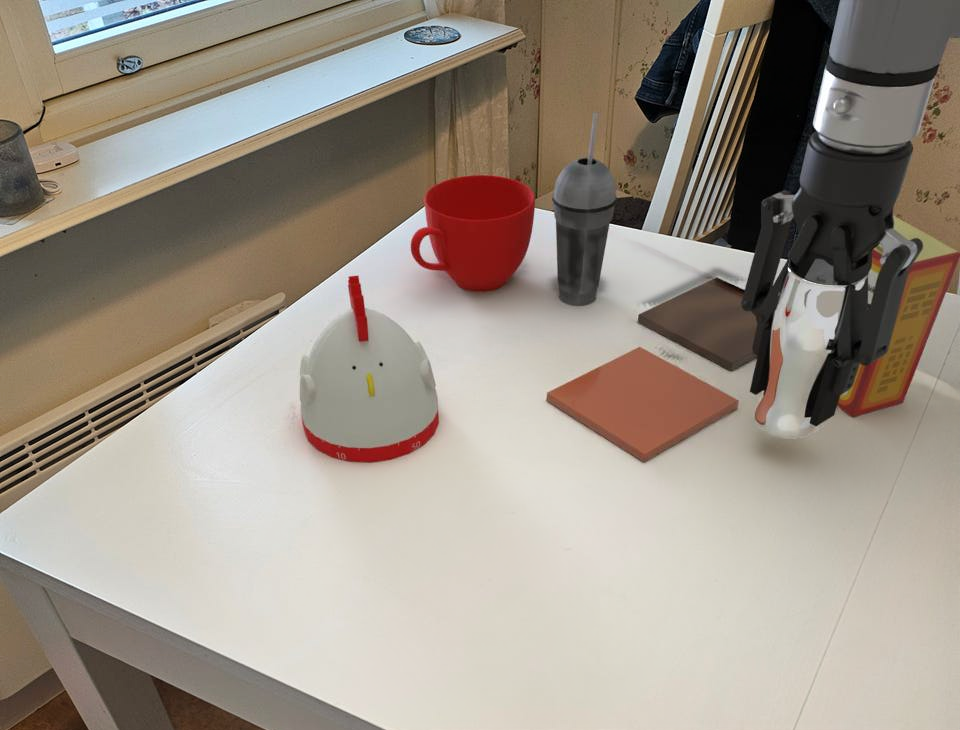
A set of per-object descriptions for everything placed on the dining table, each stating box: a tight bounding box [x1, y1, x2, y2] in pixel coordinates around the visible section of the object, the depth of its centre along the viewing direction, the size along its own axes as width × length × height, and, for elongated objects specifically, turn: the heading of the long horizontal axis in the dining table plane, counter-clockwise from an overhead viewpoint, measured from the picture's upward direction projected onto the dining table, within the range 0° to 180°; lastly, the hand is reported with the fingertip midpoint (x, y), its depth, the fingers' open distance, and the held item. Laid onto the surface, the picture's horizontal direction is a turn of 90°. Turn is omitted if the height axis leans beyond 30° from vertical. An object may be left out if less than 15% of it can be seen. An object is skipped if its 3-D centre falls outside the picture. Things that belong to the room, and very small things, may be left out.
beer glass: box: [753, 259, 869, 440], centre depth 80 cm, size 7×7×15 cm
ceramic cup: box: [410, 174, 536, 293], centre depth 108 cm, size 13×17×10 cm
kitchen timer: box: [299, 275, 440, 463], centre depth 87 cm, size 14×14×15 cm
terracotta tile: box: [545, 346, 740, 463], centre depth 93 cm, size 14×14×1 cm
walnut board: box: [636, 276, 757, 372], centre depth 104 cm, size 14×14×1 cm
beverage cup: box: [551, 111, 618, 307], centre depth 102 cm, size 7×7×20 cm
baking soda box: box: [837, 214, 960, 418], centre depth 89 cm, size 10×6×16 cm
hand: (791, 402), depth 84 cm, fingers closed on beer glass, 6 cm apart
